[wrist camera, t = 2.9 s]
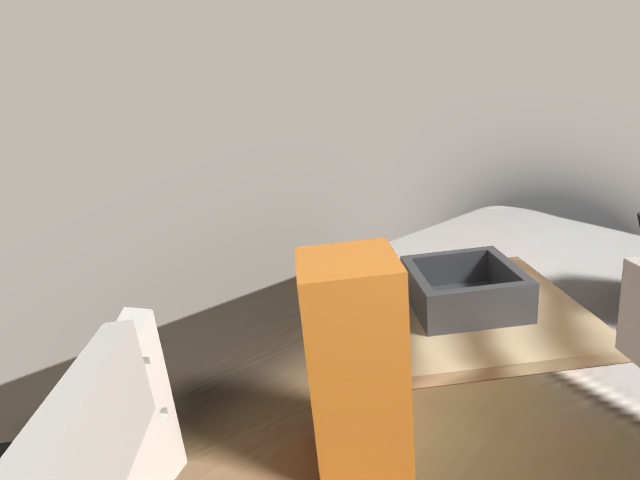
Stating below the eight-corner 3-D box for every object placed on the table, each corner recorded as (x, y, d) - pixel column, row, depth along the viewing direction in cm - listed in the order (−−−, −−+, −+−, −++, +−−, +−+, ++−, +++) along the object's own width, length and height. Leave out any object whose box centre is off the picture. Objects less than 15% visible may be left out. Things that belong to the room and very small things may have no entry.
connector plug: (321, 492, 25) (297, 284, 21) (315, 427, 30) (294, 247, 26) (415, 480, 26) (407, 272, 22) (394, 417, 30) (385, 237, 26)
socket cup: (427, 336, 37) (426, 296, 36) (401, 290, 45) (400, 256, 44) (537, 323, 37) (539, 283, 36) (491, 279, 45) (492, 245, 44)
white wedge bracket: (218, 382, 31) (152, 309, 25) (149, 561, 25) (40, 524, 19) (171, 375, 33) (97, 304, 26) (95, 544, 27) (-25, 505, 20)
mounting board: (379, 393, 33) (378, 380, 32) (346, 285, 50) (345, 276, 49) (636, 361, 33) (638, 348, 33) (517, 265, 50) (517, 256, 50)
